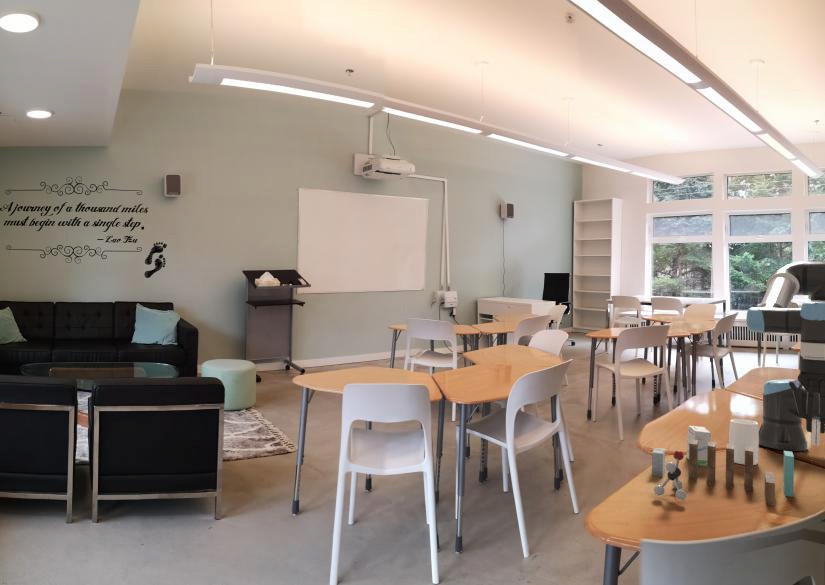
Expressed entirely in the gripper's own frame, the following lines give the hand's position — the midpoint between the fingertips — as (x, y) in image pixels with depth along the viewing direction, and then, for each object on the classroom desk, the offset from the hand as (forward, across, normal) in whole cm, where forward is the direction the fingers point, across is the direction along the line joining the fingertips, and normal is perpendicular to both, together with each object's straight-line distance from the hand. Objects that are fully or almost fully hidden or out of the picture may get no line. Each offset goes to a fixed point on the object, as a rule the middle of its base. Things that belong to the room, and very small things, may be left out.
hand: (815, 444), depth 160 cm
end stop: (+14, +40, 0) cm, 42 cm away
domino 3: (+14, +20, 0) cm, 25 cm away
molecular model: (+15, +34, +17) cm, 41 cm away
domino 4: (+14, +16, 0) cm, 21 cm away
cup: (+15, +17, -25) cm, 33 cm away
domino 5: (+12, +11, +3) cm, 16 cm away
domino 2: (+14, +25, 0) cm, 29 cm away
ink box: (+15, +30, -17) cm, 37 cm away
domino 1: (+14, +30, 0) cm, 33 cm away
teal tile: (+14, +6, 0) cm, 16 cm away
